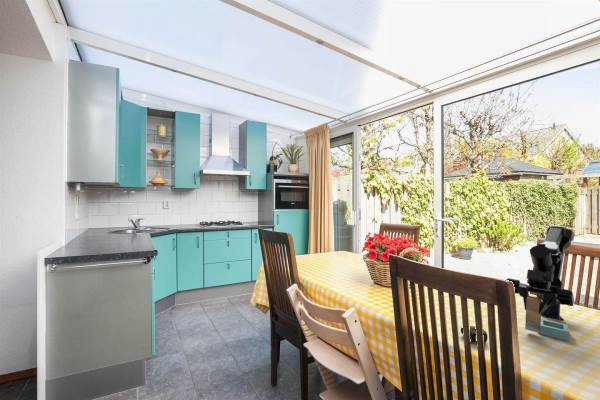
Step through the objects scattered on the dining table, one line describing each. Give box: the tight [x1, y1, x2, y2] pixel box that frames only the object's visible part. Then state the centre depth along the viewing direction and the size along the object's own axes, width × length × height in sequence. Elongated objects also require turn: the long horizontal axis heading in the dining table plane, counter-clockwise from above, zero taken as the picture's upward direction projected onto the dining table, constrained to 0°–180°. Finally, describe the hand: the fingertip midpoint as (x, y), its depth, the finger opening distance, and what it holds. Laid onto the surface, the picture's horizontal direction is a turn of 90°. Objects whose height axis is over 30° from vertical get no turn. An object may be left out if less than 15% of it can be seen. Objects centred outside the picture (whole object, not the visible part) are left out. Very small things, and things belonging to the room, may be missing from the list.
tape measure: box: [460, 325, 488, 344], centre depth 97 cm, size 7×7×4 cm
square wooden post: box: [524, 295, 542, 334], centre depth 103 cm, size 4×4×11 cm
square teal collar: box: [537, 318, 570, 342], centre depth 105 cm, size 8×8×3 cm
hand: (532, 311), depth 102 cm, fingers closed on square wooden post, 3 cm apart
